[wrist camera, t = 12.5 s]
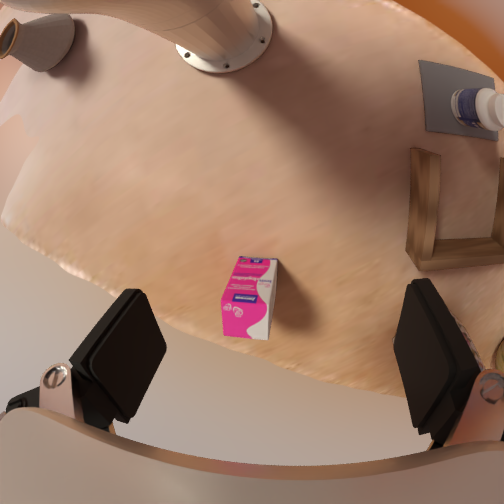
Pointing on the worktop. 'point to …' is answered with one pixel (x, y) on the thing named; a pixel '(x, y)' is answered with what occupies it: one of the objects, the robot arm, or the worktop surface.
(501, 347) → the cantaloupe
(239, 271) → the supplement box
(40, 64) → the coffee pot
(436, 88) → the mat
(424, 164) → the open box
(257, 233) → the worktop surface
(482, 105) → the pill bottle
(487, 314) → the worktop surface
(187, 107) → the worktop surface
